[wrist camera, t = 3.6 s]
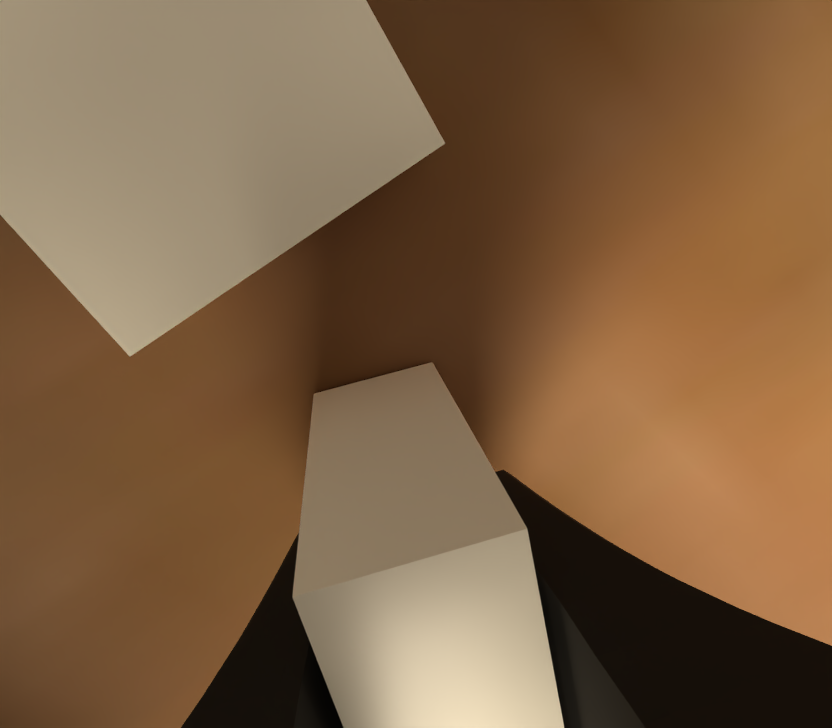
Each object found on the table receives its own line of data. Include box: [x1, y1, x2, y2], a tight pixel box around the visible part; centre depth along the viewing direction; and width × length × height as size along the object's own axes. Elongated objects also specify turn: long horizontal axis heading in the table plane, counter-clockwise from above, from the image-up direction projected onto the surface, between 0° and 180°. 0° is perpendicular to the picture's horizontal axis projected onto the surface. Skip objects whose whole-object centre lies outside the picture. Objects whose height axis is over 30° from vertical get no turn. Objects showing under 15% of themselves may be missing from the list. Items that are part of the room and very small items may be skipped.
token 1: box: [0, 0, 445, 356], centre depth 7 cm, size 5×5×2 cm
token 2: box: [292, 362, 564, 728], centre depth 8 cm, size 5×2×5 cm, turn 13°
